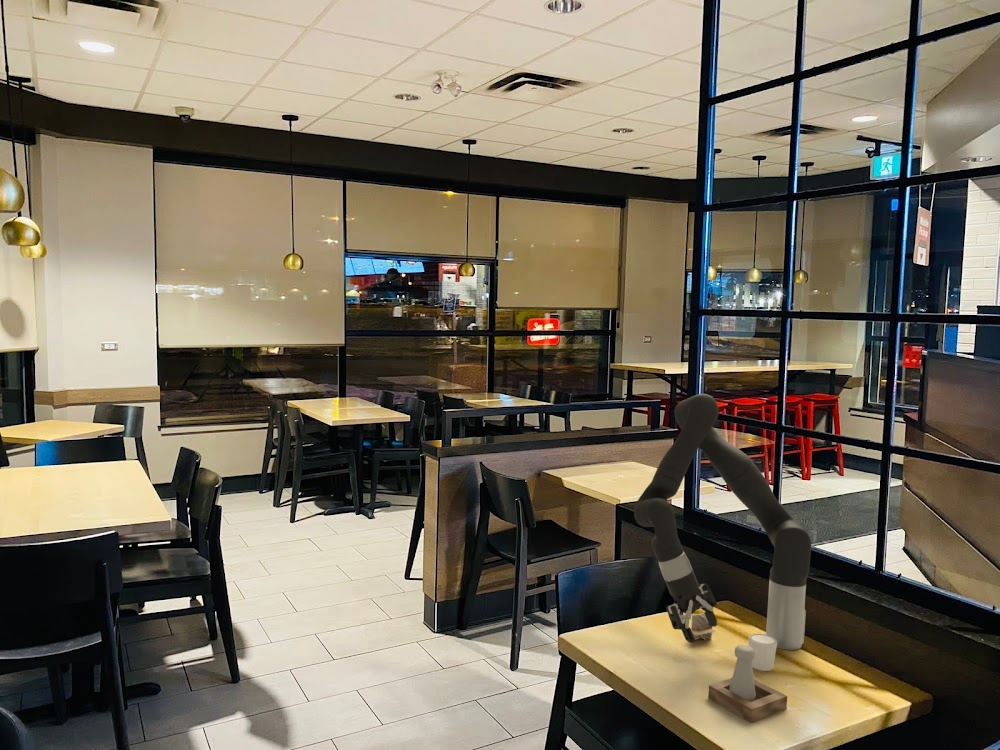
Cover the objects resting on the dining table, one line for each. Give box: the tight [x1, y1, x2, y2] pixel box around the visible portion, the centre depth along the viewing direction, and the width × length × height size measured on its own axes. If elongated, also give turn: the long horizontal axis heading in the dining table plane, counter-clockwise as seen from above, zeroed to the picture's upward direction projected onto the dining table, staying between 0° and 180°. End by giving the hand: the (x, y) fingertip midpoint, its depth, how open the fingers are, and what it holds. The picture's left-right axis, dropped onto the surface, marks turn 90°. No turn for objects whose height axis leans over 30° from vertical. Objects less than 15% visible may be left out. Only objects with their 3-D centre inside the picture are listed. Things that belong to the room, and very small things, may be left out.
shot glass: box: [748, 633, 778, 672], centre depth 188 cm, size 7×7×7 cm
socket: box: [707, 677, 788, 723], centre depth 169 cm, size 12×12×3 cm
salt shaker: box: [729, 644, 756, 702], centre depth 168 cm, size 6×6×13 cm
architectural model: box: [690, 612, 716, 641], centre depth 201 cm, size 3×7×7 cm, turn 117°
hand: (702, 633), depth 187 cm, fingers open, 8 cm apart
